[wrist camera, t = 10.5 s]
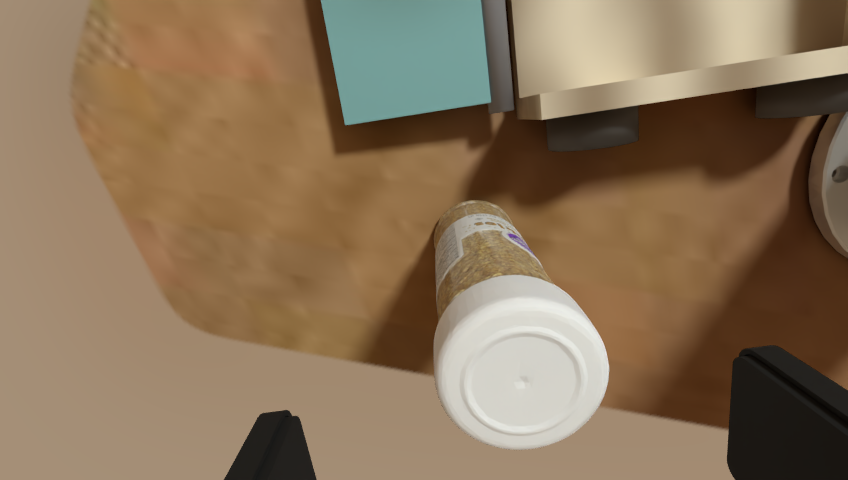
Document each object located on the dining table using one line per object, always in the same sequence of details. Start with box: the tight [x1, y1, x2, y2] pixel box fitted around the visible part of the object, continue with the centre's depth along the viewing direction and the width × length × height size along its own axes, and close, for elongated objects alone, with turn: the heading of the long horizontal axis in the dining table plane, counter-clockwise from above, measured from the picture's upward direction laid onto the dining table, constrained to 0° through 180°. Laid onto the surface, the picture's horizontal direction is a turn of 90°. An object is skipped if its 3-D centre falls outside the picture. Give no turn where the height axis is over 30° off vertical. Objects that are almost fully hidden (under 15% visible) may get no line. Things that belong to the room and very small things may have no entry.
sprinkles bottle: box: [433, 200, 609, 450], centre depth 17 cm, size 5×5×13 cm
